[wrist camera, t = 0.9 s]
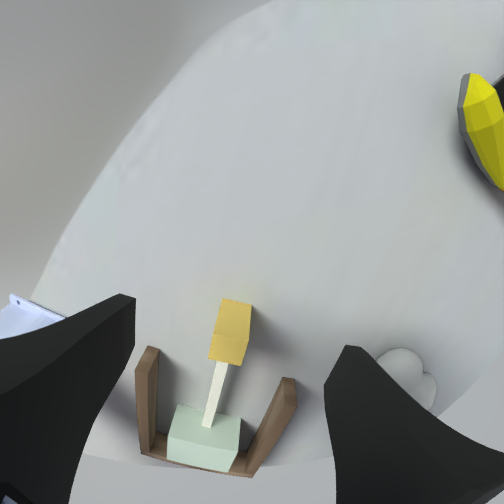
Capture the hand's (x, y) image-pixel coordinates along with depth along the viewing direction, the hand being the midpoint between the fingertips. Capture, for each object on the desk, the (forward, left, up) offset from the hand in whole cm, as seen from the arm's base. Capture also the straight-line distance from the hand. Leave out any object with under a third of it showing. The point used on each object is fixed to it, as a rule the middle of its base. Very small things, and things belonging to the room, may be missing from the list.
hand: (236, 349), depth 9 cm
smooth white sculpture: (+15, -8, -10) cm, 19 cm away
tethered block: (0, -12, -9) cm, 16 cm away
